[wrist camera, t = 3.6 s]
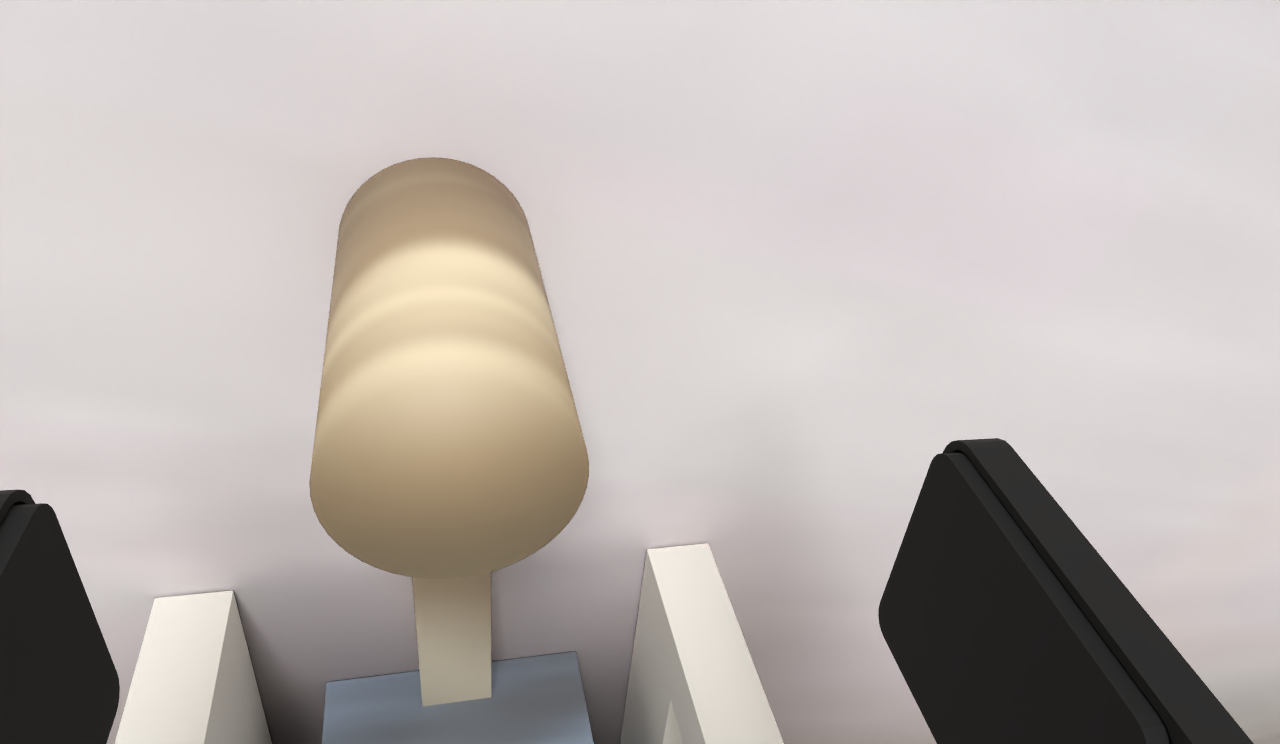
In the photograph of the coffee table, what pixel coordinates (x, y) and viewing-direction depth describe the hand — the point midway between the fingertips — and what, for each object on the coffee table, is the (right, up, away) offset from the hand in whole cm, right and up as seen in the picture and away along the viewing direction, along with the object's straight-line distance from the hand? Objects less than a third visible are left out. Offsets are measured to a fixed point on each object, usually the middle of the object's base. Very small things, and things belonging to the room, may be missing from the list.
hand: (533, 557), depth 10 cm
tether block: (-3, -2, +10) cm, 11 cm away
